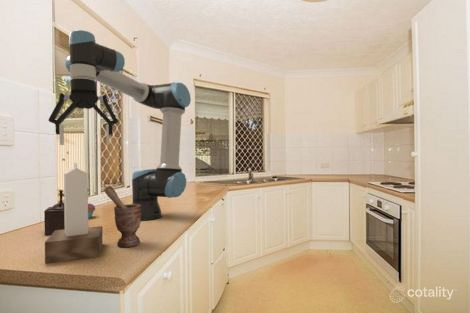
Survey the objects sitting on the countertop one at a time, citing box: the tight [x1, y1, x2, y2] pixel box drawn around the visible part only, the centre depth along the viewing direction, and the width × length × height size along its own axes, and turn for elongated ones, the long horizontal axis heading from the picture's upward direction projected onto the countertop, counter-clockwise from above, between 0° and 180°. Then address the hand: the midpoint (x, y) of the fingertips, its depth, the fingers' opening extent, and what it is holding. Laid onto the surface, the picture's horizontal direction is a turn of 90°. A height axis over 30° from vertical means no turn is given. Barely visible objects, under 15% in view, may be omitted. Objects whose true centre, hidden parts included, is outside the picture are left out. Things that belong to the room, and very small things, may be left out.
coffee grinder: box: [43, 189, 90, 236], centre depth 119 cm, size 16×11×18 cm
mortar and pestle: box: [104, 185, 142, 248], centre depth 99 cm, size 12×9×20 cm
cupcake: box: [88, 203, 96, 220], centre depth 142 cm, size 9×8×12 cm
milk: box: [63, 162, 89, 237], centre depth 92 cm, size 6×6×22 cm
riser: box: [44, 225, 103, 264], centre depth 92 cm, size 14×14×6 cm
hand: (85, 144), depth 97 cm, fingers open, 13 cm apart
